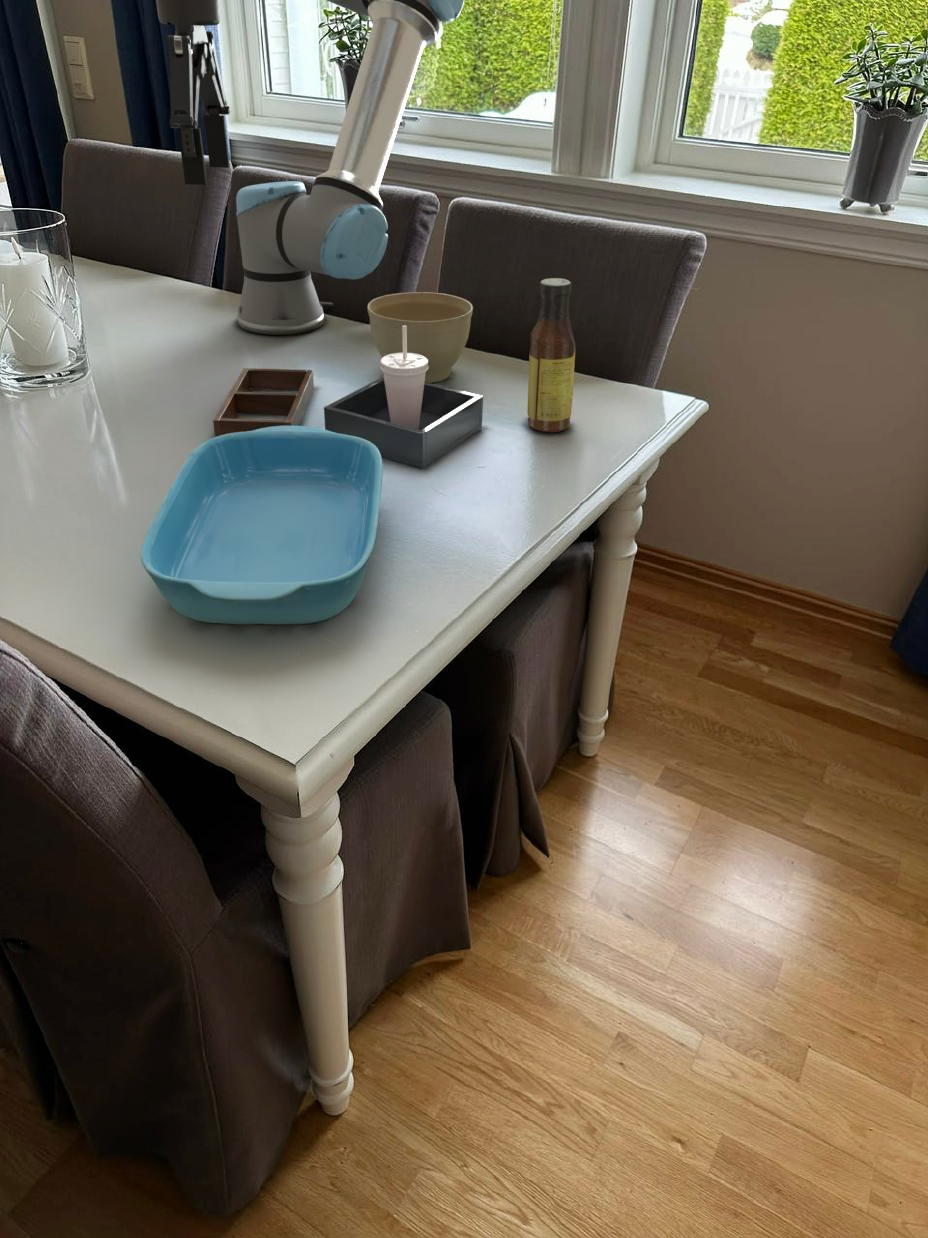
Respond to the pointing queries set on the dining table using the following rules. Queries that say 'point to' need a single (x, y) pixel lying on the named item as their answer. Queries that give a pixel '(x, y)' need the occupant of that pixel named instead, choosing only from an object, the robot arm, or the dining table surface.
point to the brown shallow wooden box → (265, 399)
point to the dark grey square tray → (439, 431)
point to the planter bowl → (422, 328)
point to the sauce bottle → (551, 360)
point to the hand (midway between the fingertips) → (208, 175)
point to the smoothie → (404, 385)
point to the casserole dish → (267, 526)
